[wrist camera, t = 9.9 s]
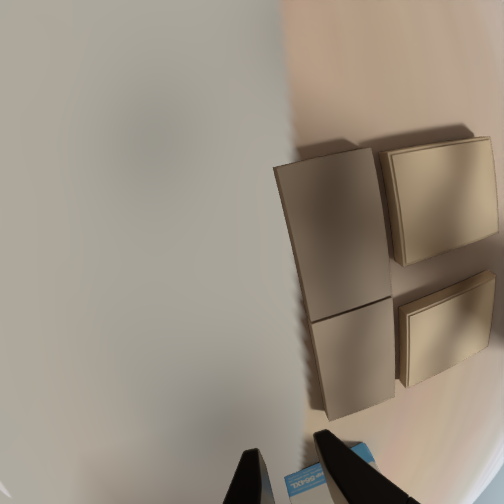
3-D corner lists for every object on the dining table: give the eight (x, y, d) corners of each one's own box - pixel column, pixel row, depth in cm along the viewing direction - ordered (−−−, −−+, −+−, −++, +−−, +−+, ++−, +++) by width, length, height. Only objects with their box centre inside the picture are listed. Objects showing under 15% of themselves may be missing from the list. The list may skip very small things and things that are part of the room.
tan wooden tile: (362, 147, 18) (371, 147, 16) (388, 388, 23) (394, 397, 22) (272, 167, 17) (276, 167, 16) (324, 411, 23) (329, 421, 21)
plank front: (479, 136, 18) (491, 136, 16) (488, 229, 20) (499, 233, 18) (378, 152, 18) (388, 152, 16) (394, 260, 20) (404, 267, 18)
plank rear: (486, 270, 21) (496, 275, 20) (480, 340, 23) (488, 346, 22) (398, 307, 21) (407, 315, 19) (399, 380, 23) (406, 389, 21)
